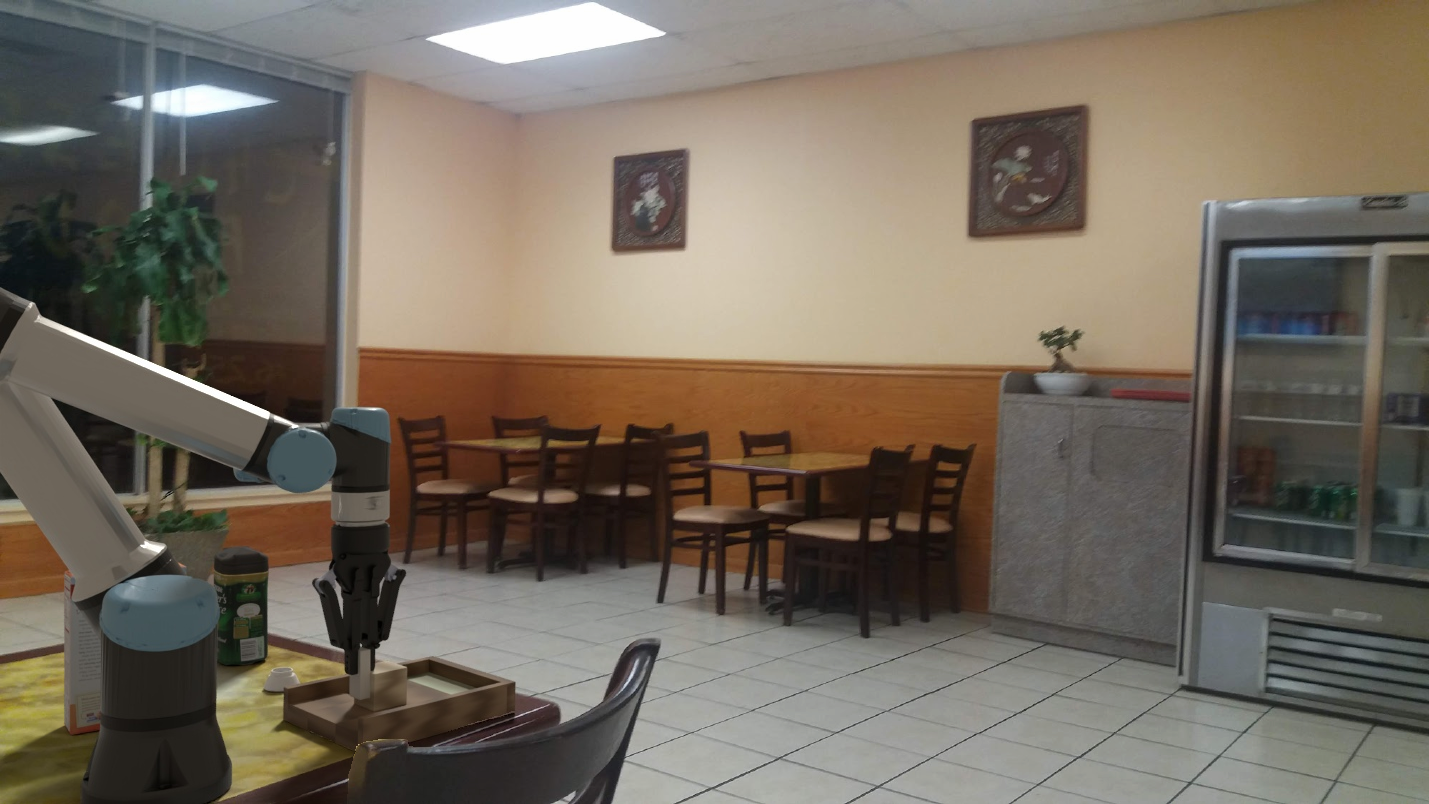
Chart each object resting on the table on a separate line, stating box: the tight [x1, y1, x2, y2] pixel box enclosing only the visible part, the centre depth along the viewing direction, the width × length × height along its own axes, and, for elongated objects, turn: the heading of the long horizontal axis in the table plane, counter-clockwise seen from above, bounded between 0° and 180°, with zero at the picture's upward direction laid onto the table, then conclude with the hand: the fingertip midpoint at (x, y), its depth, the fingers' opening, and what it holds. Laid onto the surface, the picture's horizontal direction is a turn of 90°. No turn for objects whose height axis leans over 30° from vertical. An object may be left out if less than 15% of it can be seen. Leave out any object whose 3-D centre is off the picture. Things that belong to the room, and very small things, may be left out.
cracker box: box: [63, 562, 188, 736], centre depth 145 cm, size 14×6×21 cm, turn 129°
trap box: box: [282, 655, 517, 752], centre depth 150 cm, size 24×20×4 cm
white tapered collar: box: [263, 666, 301, 693], centre depth 162 cm, size 5×3×5 cm
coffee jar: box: [213, 545, 270, 666], centre depth 178 cm, size 10×8×19 cm
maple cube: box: [354, 660, 407, 711], centre depth 147 cm, size 5×5×5 cm
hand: (359, 696), depth 145 cm, fingers closed
